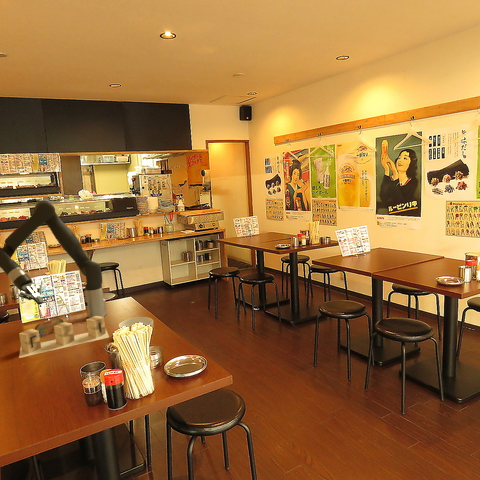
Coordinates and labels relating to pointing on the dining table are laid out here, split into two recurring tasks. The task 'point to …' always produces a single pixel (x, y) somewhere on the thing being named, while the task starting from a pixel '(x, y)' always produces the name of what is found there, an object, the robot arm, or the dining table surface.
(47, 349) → the board
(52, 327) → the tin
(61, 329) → the plain block
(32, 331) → the marked block 7
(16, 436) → the dining table surface
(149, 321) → the cereal bowl
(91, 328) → the marked block 1
